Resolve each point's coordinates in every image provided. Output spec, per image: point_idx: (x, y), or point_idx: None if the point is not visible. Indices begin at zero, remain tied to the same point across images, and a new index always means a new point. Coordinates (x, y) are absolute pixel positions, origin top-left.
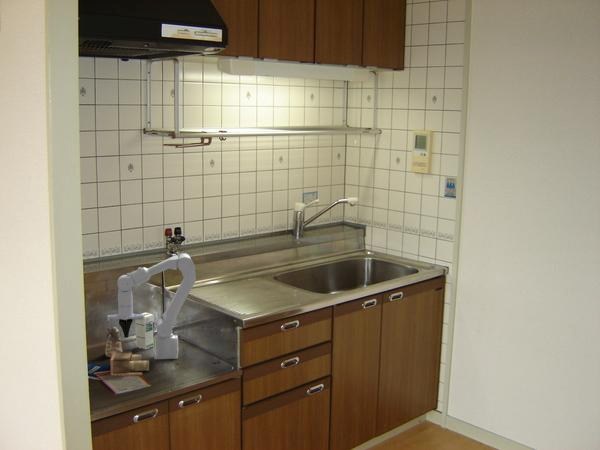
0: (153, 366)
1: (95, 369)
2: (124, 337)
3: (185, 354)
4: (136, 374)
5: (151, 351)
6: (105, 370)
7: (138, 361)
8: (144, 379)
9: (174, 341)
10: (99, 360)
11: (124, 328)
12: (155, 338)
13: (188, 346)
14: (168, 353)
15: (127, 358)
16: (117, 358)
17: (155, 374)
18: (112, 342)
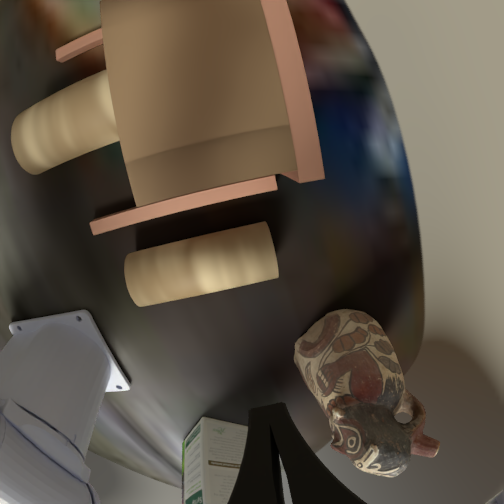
0: (44, 204)
1: (383, 105)
2: (285, 404)
3: None
4: (88, 37)
5: (165, 402)
6: (320, 85)
7: (66, 107)
8: (45, 13)
9: None
10: (396, 254)
11: (300, 492)
12: (64, 423)
13: None
14: (28, 341)
15: (117, 9)
16: None
17: (7, 92)
18: (374, 373)
